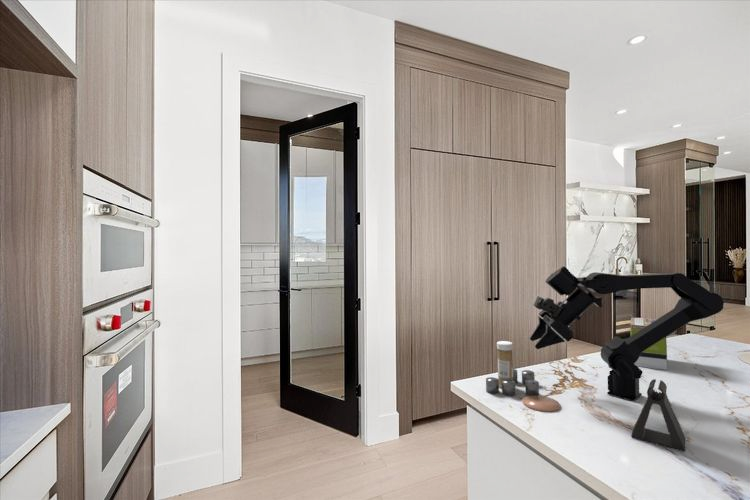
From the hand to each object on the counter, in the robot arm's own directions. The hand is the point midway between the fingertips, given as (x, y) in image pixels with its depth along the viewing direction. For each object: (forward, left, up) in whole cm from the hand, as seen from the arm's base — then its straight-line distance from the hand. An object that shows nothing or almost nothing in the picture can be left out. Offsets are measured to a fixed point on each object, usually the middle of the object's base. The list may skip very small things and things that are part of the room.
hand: (533, 343), depth 108 cm
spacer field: (+3, +4, -13) cm, 14 cm away
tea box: (-14, -53, -14) cm, 57 cm away
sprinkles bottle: (+6, +5, -14) cm, 16 cm away
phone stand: (-32, +7, -14) cm, 35 cm away
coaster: (-7, +9, -13) cm, 17 cm away
